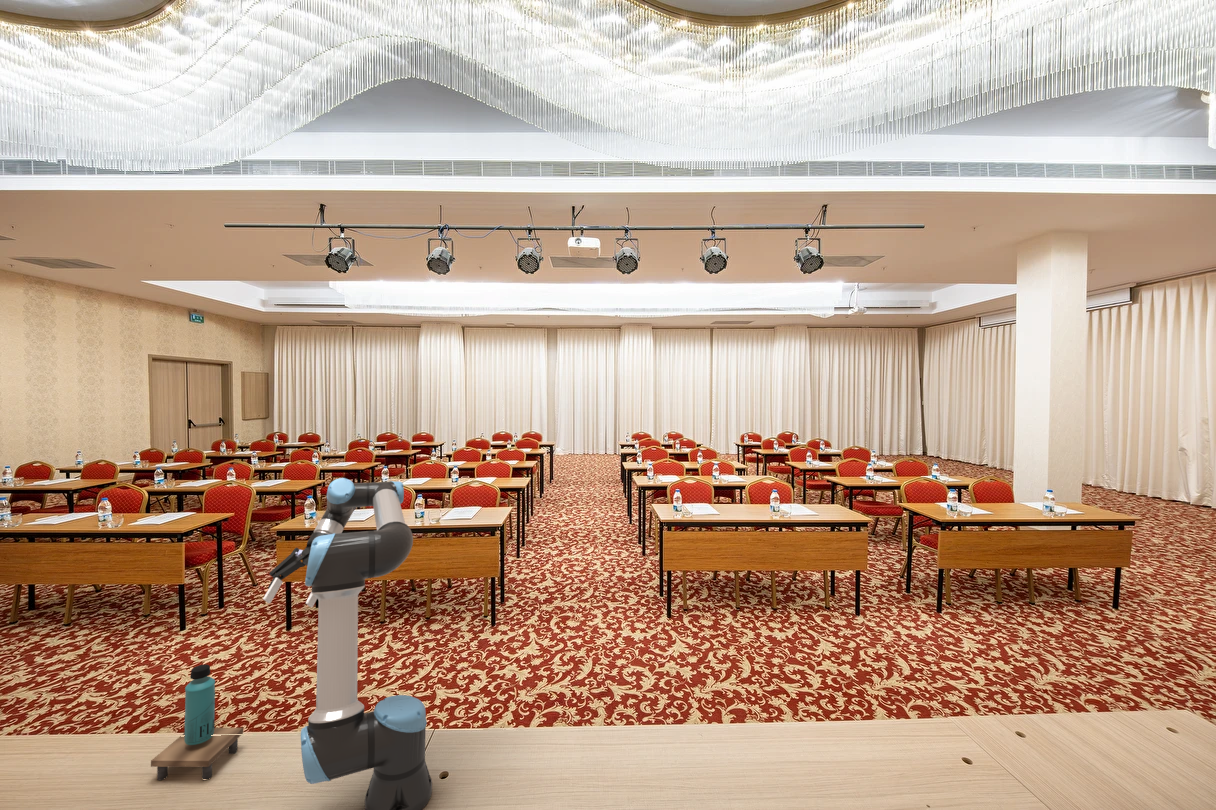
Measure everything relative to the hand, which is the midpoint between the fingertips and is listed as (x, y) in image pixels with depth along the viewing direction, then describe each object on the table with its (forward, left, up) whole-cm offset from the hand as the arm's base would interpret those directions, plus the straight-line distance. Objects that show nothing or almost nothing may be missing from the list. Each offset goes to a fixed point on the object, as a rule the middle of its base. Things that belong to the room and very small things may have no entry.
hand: (287, 603), depth 149 cm
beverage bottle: (+8, +18, -32) cm, 38 cm away
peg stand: (+8, +18, -38) cm, 42 cm away
